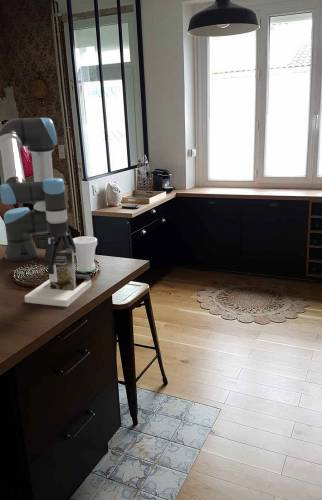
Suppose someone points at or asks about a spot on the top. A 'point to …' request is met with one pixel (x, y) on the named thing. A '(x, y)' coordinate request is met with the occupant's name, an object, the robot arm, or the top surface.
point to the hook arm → (83, 277)
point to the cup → (85, 253)
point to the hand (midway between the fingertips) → (62, 275)
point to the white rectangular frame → (55, 294)
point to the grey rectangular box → (65, 270)
